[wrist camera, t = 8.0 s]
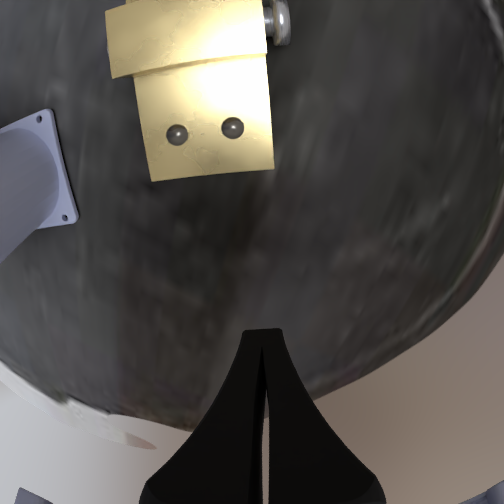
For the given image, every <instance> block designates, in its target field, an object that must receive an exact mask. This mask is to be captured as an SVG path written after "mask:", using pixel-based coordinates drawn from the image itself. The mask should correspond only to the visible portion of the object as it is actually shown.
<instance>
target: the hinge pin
mask: <svg viewBox="0 0 504 504" xmlns="http://www.w3.org/2000/svg"><path fill="white" fill-rule="evenodd" d="M269 6H270V7H262V8H263V17H264V27H265V37H270V36H272V38H273V44H274V46H278V45H290V36H291V30H290V15H289V8H288V3H287V0H269ZM107 52H108V55H109V50H108V40H107Z"/></svg>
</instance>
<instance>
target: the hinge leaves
mask: <svg viewBox="0 0 504 504" xmlns="http://www.w3.org/2000/svg"><path fill="white" fill-rule="evenodd" d="M105 17H106V29H107V40H108V50H109V58H110V67H111V74H112V79H116V78H130V77H134V83H135V90H136V97H137V103H138V110H139V116H140V122H141V128H142V134H143V139H144V145H145V150H146V155H147V161H148V166H149V171H150V176H151V180H152V182H153V181H161V180H168V179H176V178H184V177H192V176H201V175H210V174H220V173H231V172H242V171H254V170H268V169H274V156H273V142H272V129H271V116H270V104H269V92H268V81H267V70H266V59H265V57H266V54H267V47H266V37H265V27H264V17H263V8H262V0H126V4H125V5H122V6H119V7H116V8H113V9H110V10H107V11H105Z"/></svg>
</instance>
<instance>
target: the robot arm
mask: <svg viewBox="0 0 504 504" xmlns="http://www.w3.org/2000/svg"><path fill="white" fill-rule="evenodd" d="M40 116H41V117H42V121H40ZM65 215H66V216H67V217H68V219H67V218H66V217H65ZM78 218H79V215H78V211H77V208H76V205H75V202H74V198H73V195H72V191H71V188H70V184H69V180H68V177H67V173H66V169H65V165H64V161H63V157H62V153H61V148H60V144H59V139H58V135H57V130H56V125H55V120H54V114H53V111H52V110H51V109H44V110H41V111H39V112H37V113H34V114H32V115H29V116H27V117H25V118H22V119H20V120H18V121H16V122H14V123H11V124H9V125H7V126H5V127H3V128H1V129H0V264H1V263H2V261H3V260H4V259H5V258H6V257H7V256H8V255H9V254H10V253H11V252H12V251H13V250H14V249H15V248H16V247H17V246H18V245H19V244H20V243H22V242H23V241H24V240H25V239H26V238H27V237H28V236H29V235H30V234H31V233H32V232H33V231H34V230H35V229H40V228H46V227H53V226H59V225H66V224H73V223H75V222H76V221H77V220H78ZM266 390H267V398H268V405H269V503H268V504H386V498H385V495H384V492H383V489H382V487H381V485H380V483H379V481H378V479H377V477H376V476H375V474H373V473H372V472H371V471H370V470H369V469H368V468H367V467H366V466H365V465H364V464H363V463H362V462H361V461H360V460H359V459H358V458H357V457H356V456H355V455H354V454H353V453H352V452H351V451H350V450H349V449H348V448H347V446H345V444H344V443H343V442H342V441H341V439H340V438H339V437H338V436H337V435H336V433H335V432H334V431H333V430H332V429H331V427H330V426H329V425H328V423H327V422H326V420H325V419H324V417H323V416H322V415H321V413H320V412H319V410H318V409H317V407H316V406H315V404H314V403H313V401H312V399H311V398H310V396H309V394H308V392H307V391H306V389H305V387H304V385H303V383H302V382H301V380H300V378H299V376H298V374H297V371H296V369H295V367H294V365H293V363H292V361H291V358H290V356H289V353H288V350H287V348H286V345H285V341H284V337H283V333H282V330H281V329H280V328H273V329H256V330H245V331H244V332H243V333H242V338H241V341H240V345H239V348H238V351H237V353H236V356H235V359H234V361H233V364H232V366H231V368H230V370H229V373H228V375H227V377H226V379H225V381H224V383H223V385H222V387H221V389H220V391H219V393H218V395H217V396H216V398H215V400H214V402H213V403H212V405H211V407H210V408H209V410H208V411H207V413H206V414H205V416H204V418H203V419H202V420H201V422H200V423H199V425H198V426H197V427H196V429H195V430H194V431H193V433H192V434H191V435H190V437H189V438H188V439H187V440H186V442H185V443H184V444H183V445H182V446H181V447H180V448H179V449H178V451H177V452H176V453H175V454H174V455H173V456H172V457H171V458H170V460H168V462H166V464H164V465H163V466H162V467H161V468H160V469H159V470H158V471H157V472H156V473H155V474H154V475H153V476H152V477H150V478H149V479H148V480H147V481H146V483H145V486H144V488H143V491H142V493H141V496H140V500H139V504H263V491H262V435H263V423H264V411H265V398H266ZM15 504H53V503H51V502H49V501H48V500H46V499H44V498H42V497H40V496H38V495H35V494H33V493H31V492H29V491H27V490H25V489H23V488H19V490H18V493H17V497H16V500H15ZM459 504H504V480H503V481H501V482H499V483H498V484H496V485H494V486H493V487H491V488H490V489H488V490H487V491H486V492H484V493H482V494H479V495H477V496H475V497H473V498H471V499H469V500H467V501H464V502H462V503H459Z"/></svg>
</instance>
